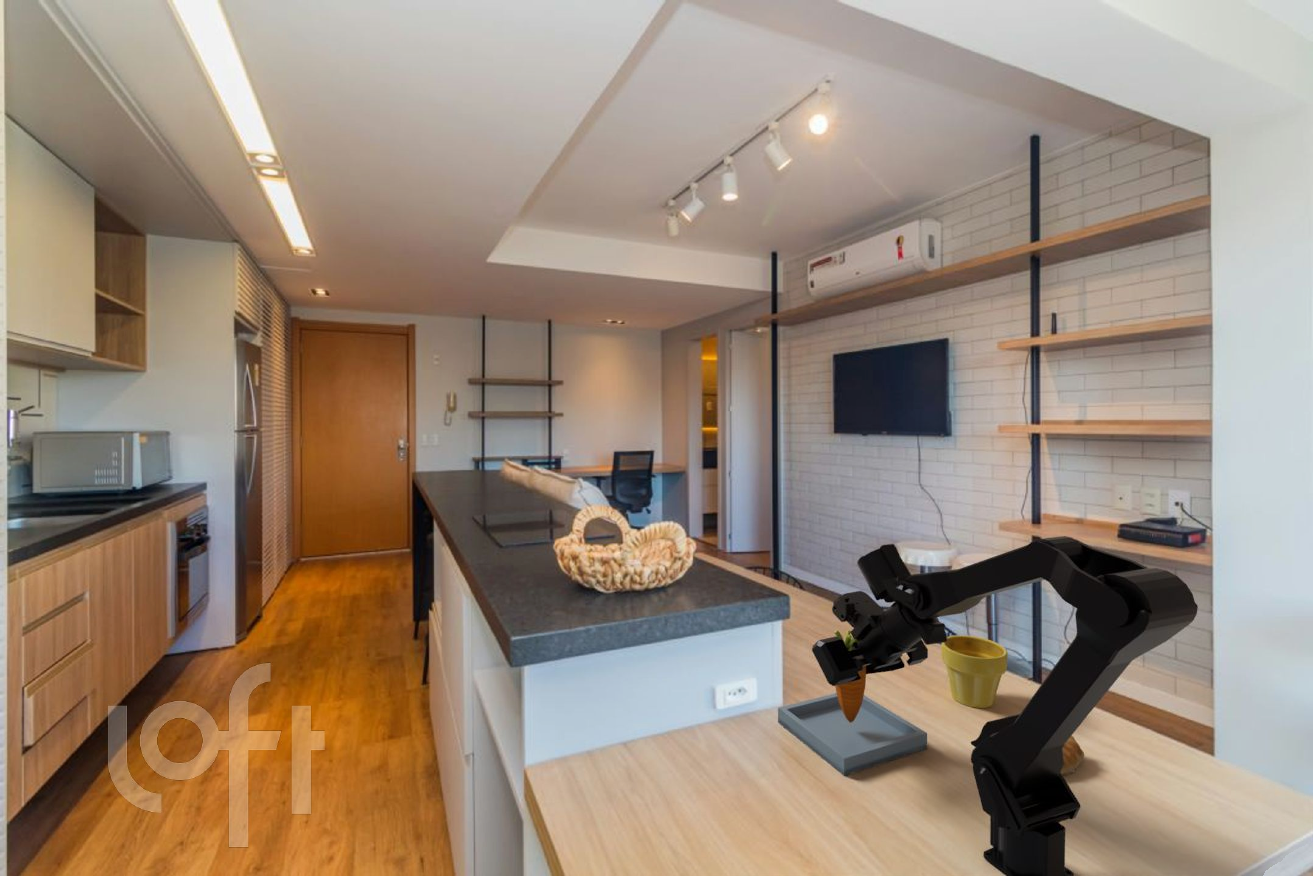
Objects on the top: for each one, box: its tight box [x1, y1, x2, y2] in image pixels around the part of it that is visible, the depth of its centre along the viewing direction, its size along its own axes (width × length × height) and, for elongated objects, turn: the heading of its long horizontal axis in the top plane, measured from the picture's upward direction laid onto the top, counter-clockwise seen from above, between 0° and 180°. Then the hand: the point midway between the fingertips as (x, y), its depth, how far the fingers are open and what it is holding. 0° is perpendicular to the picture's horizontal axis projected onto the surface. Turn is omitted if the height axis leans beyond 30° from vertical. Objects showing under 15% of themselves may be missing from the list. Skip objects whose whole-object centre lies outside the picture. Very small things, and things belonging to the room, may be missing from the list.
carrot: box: [834, 629, 867, 723], centre depth 94 cm, size 5×5×15 cm
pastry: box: [1060, 734, 1085, 776], centre depth 87 cm, size 9×7×4 cm
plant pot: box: [940, 634, 1008, 709], centre depth 106 cm, size 10×10×10 cm
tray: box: [777, 693, 928, 777], centre depth 95 cm, size 16×16×2 cm
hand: (843, 675), depth 96 cm, fingers closed on carrot, 5 cm apart
